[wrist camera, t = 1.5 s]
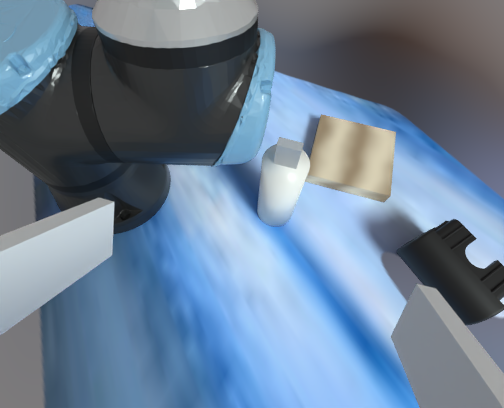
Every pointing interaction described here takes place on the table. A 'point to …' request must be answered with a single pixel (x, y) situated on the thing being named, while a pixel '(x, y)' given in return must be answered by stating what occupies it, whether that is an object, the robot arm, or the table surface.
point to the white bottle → (281, 181)
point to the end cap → (456, 272)
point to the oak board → (352, 158)
